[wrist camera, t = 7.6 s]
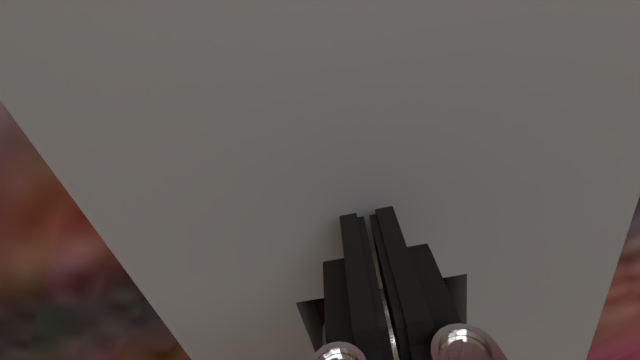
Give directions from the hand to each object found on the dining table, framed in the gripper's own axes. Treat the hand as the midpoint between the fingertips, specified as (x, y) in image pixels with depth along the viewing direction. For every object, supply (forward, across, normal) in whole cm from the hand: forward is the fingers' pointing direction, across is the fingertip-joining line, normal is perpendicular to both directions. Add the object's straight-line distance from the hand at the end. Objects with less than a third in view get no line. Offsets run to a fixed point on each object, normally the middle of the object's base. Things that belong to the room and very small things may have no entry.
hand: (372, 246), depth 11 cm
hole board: (+3, 0, +1) cm, 3 cm away
